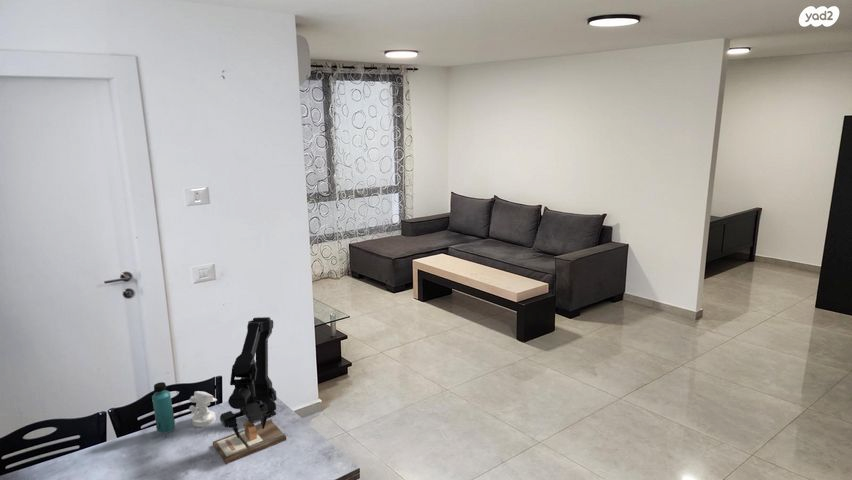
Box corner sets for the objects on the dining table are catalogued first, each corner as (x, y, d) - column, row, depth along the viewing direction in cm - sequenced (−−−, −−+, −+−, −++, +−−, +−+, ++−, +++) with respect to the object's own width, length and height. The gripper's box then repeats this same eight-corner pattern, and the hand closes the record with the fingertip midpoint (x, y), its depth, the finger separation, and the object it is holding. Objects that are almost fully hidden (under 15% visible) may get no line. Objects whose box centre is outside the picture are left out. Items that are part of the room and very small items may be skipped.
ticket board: (213, 445, 193) (212, 439, 193) (271, 423, 207) (270, 418, 206) (225, 464, 183) (225, 458, 182) (286, 440, 196) (285, 434, 195)
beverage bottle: (179, 427, 205) (173, 379, 200) (169, 437, 198) (162, 388, 194) (163, 426, 206) (156, 379, 201) (153, 436, 199) (146, 388, 195)
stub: (239, 434, 197) (238, 421, 196) (252, 429, 200) (251, 416, 199) (249, 447, 189) (248, 433, 188) (263, 441, 192) (261, 427, 191)
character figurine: (187, 422, 208) (184, 394, 206) (209, 411, 216) (206, 384, 213) (200, 429, 203) (197, 401, 201) (222, 418, 211) (219, 390, 208)
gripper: (228, 412, 179) (232, 453, 182) (280, 394, 190) (284, 433, 194) (217, 399, 187) (221, 438, 191) (268, 382, 199) (271, 420, 202)
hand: (250, 432), depth 194 cm, fingers open, 9 cm apart
